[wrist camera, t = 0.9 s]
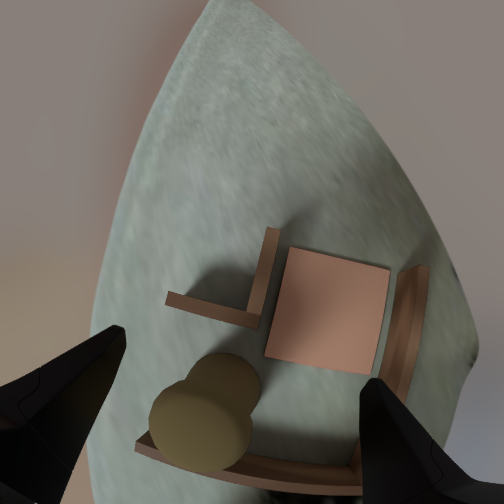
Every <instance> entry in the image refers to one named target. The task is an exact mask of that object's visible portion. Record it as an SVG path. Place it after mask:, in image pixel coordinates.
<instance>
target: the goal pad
mask: <svg viewBox="0 0 504 504" xmlns="http://www.w3.org/2000/svg"><path fill="white" fill-rule="evenodd" d="M389 275H390V270H386V269H382V268H378V267H374V266H369V265H365V264H361V263H357V262H353V261H349V260H345V259H340V258H336V257H332V256H328V255H324V254H319V253H315V252H311V251H307V250H302V249H298V248H294V247H290V248H289V253H288V257H287V262H286V266H285V271H284V275H283V279H282V284H281V288H280V292H279V297H278V301H277V305H276V309H275V313H274V318H273V322H272V326H271V330H270V334H269V338H268V342H267V346H266V350H265V354H264V356H266V357H270V358H275V359H279V360H284V361H289V362H294V363H299V364H304V365H309V366H315V367H320V368H326V369H332V370H338V371H345V372H352V373H359V374H366V375H370V373H371V369H372V365H373V361H374V357H375V353H376V348H377V344H378V339H379V334H380V329H381V324H382V319H383V314H384V308H385V302H386V296H387V289H388V282H389Z"/></svg>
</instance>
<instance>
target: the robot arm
mask: <svg viewBox="0 0 504 504" xmlns="http://www.w3.org/2000/svg"><path fill="white" fill-rule="evenodd" d="M125 350H126V334H125V329H124V328H123V327H120V326H117V325H112V326H110V327H109V328H107V329H105V330H103V331H102V332H100V333H98V334H96V335H95V336H93V337H91V338H89V339H88V340H86V341H84V342H82V343H81V344H79V345H77V346H75V347H74V348H72V349H70V350H68V351H67V352H65V353H63V354H61V355H60V356H58V357H56V358H55V359H53V360H51V361H49V362H48V363H46V364H44V365H43V366H41V368H40V367H39V368H37V369H36V370H34V371H32V372H30V373H28V374H26V375H25V376H23V377H21V378H19V379H17V380H14V381H12V382H10V383H8V384H5V385H3V386H1V387H0V504H35V503H37V504H60V502H61V499H62V497H63V494H64V491H65V489H66V486H67V484H68V481H69V479H70V477H71V474H72V471H73V469H74V466H75V464H76V462H77V459H78V457H79V455H80V453H81V450H82V448H83V446H84V443H85V441H86V439H87V437H88V435H89V433H90V430H91V428H92V426H93V424H94V422H95V420H96V418H97V415H98V413H99V411H100V409H101V407H102V405H103V403H104V401H105V399H106V397H107V395H108V393H109V391H110V389H111V387H112V384H113V382H114V379H115V377H116V374H117V371H118V368H119V366H120V363H121V360H122V358H123V355H124V352H125ZM359 436H360V449H361V467H362V497H363V504H504V484H496V483H489V482H482V481H478V480H475V479H473V478H471V477H470V476H468V475H467V474H466V473H465V472H464V471H463V470H462V469H461V468H460V467H459V466H458V465H457V464H456V463H455V462H454V461H453V460H452V459H451V458H450V457H449V456H448V455H447V454H446V453H445V452H444V451H443V450H442V449H441V447H440V446H439V445H438V444H437V443H436V442H435V440H434V439H432V437H431V436H430V435H429V433H428V432H427V431H426V430H425V429H424V428H423V426H422V425H421V424H420V423H419V422H418V421H417V419H416V418H415V417H414V416H413V415H412V414H411V412H410V411H409V410H408V409H407V408H406V407H405V405H404V404H403V403H402V402H401V401H400V400H399V398H398V397H397V396H396V395H395V394H394V393H393V391H392V390H391V389H390V388H389V387H388V386H387V385H386V383H385V382H384V381H383V380H382V379H381V378H370V379H369V380H368V382H367V383H366V385H365V386H364V387H363V389H362V390H361V392H360V407H359Z"/></svg>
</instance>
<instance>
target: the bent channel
mask: <svg viewBox="0 0 504 504" xmlns="http://www.w3.org/2000/svg"><path fill="white" fill-rule="evenodd" d="M280 232H281V230H279V229H275V228H271V227H267V229H266V233H265V237H264V241H263V245H262V249H261V253H260V257H259V261H258V265H257V270H256V274H255V278H254V282H253V286H252V290H251V294H250V298H249V302H248V306H247V310H246V312H245V311H241V310H237V309H233V308H229V307H225V306H222V305H218V304H214V303H210V302H206V301H203V300H199V299H195V298H192V297H188V296H185V295H181V294H178V293H174V292H171V291H168V295H167V298H166V302H165V305H167V306H170V307H174V308H177V309H180V310H184V311H187V312H191V313H194V314H198V315H201V316H205V317H209V318H212V319H216V320H220V321H224V322H227V323H231V324H235V325H239V326H243V327H247V328H251V329H255V330H257V329H258V326H259V322H260V318H261V314H262V310H263V305H264V301H265V297H266V293H267V289H268V285H269V280H270V276H271V272H272V268H273V263H274V259H275V255H276V251H277V246H278V242H279V237H280ZM429 272H430V267H427V266H424V265H417V266H415V267H413V268H410V269H408V270H406V271H403V272H401V273H398V276H397V283H396V291H395V298H394V304H393V310H392V316H391V321H390V327H389V332H388V337H387V342H386V346H385V351H384V355H383V360H382V364H381V368H380V372H379V376H378V378H381V379H382V380H383V381H384V382H385V383H386V385H387V386H388V387H389V388H390V389H391V390H392V391H393V393H394V394H395V395H396V396H397V397H398V398H399V400H400V401H401V402H402V403H403V404H404V403H405V400H406V397H407V393H408V390H409V386H410V382H411V378H412V374H413V370H414V366H415V362H416V357H417V353H418V348H419V343H420V338H421V332H422V327H423V321H424V314H425V307H426V300H427V292H428V283H429ZM134 451H135V452H138V453H140V454H142V455H145V456H147V457H150V458H152V459H155V460H158V461H160V462H163V463H166V464H169V465H171V466H174V467H177V468H180V469H183V468H181V467H178V466H176V465H174V464H173V463H172V462H170V461H169V460H168V459H166V458H165V457H164V456H163V455H162V453H161V452H160V451H159V450H158V448H157V447H156V446H155V444H154V442H153V439H152V437H151V434H150V432H149V430H148V431H147V432H146V433H145V434H144V435H143V436H141V437H140V438H139V439H138V440H137V441H136V444H135V450H134ZM183 470H186V469H183ZM186 471H188V470H186ZM190 472H193V473H196V474H200V475H203V476H207V477H211V478H214V479H218V480H222V481H227V482H231V483H235V484H240V485H245V486H250V487H256V488H262V489H268V490H275V491H283V492H291V493H301V494H315V495H362V467H361V449H360V437H359V440H358V443H357V445H356V448H355V451H354V453H353V456H352V458H351V461H350V463H349V466H337V465H322V464H311V463H302V462H294V461H287V460H280V459H274V458H268V457H262V456H257V455H252V454H247V453H244V455H243V456H242V457H241V458H240V459H239V460H238V461H237V462H236V463H234V464H233V465H232V466H230V467H227V468H225V469H223V470H221V471H215V472H208V473H202V472H194V471H190Z"/></svg>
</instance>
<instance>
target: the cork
mask: <svg viewBox="0 0 504 504" xmlns="http://www.w3.org/2000/svg"><path fill="white" fill-rule="evenodd" d="M260 389H261V384H260V381H259V378H258V374H257V373H256V371H255V370H254V368H253V367H252V366H251V364H249V363H248V362H247V361H245V360H244V359H243V358H241V357H239V356H236V355H233V354H231V353H215V354H210V355H207V356H205V357H204V358H202V359H200V360H199V361H197V363H196V364H195V365H194V366H193V367H192V369H191V370H190V372H189V373H188V375H187V377H186V379H185V380H181V381H178V382H176V383H175V384H173V385H171V386H169V387H168V388H166V389H164V390H163V391H162V392H161V393H160V394H159V396H158V397H157V398H156V399H155V401H154V403H153V405H152V408H151V411H150V415H149V432H150V434H151V437H152V439H153V442H154V444H155V446H156V447H157V448H158V450H159V451H160V452H161V453H162V455H163V456H164V457H165V458H166V459H168V460H169V461H170V462H172V463H173V464H174V465H176V466H178V467H181V468H183V469H186V470H188V471H194V472H202V473H208V472H215V471H221V470H223V469H225V468H227V467H230V466H232V465H233V464H234V463H236V462H237V461H238V460H239V459H240V458H241V457H242V456H243V455H244V453H245V452H246V451H247V448H248V446H249V444H250V442H251V439H252V419H251V416H250V415H251V413H252V412H253V410H254V408H255V407H256V405H257V402H258V400H259V397H260Z"/></svg>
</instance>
